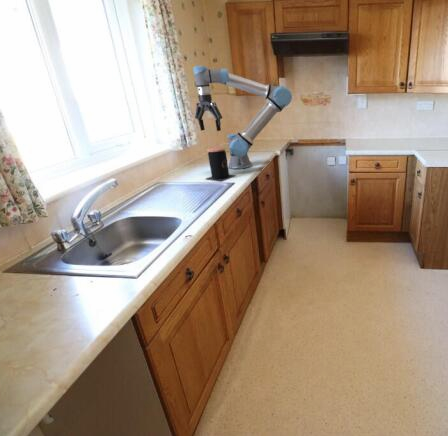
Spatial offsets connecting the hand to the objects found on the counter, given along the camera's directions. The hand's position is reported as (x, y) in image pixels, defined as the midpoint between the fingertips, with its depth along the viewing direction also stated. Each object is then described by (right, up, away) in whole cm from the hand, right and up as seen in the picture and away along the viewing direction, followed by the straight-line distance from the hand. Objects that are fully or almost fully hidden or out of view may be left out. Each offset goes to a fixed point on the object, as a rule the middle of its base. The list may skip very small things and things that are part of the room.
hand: (210, 130), depth 202 cm
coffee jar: (+6, -29, +3) cm, 30 cm away
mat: (+6, -29, +3) cm, 30 cm away
